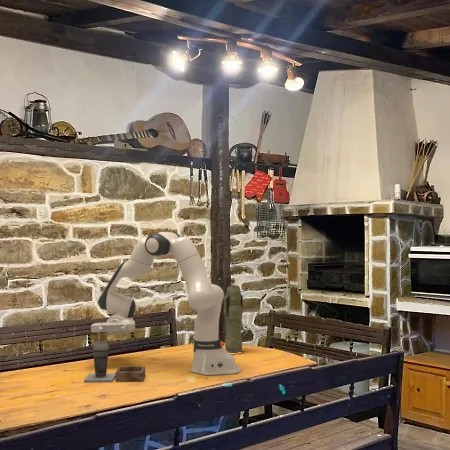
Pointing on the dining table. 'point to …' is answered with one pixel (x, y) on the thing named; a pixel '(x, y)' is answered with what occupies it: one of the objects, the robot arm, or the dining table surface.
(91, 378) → the slate mat
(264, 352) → the dining table surface
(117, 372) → the walnut collar
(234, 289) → the thermos
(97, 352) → the beverage cup
